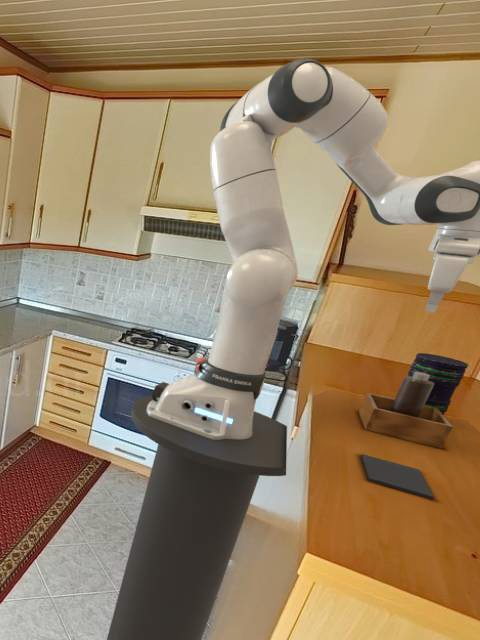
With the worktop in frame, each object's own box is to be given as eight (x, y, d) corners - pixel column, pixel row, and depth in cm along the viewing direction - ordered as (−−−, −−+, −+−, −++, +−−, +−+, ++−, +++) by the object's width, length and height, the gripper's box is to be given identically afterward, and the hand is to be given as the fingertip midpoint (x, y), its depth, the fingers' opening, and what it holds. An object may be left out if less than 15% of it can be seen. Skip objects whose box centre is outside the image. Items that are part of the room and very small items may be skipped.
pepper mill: (386, 426, 113) (409, 373, 108) (382, 419, 117) (405, 368, 112) (414, 433, 110) (440, 379, 106) (410, 425, 114) (434, 374, 110)
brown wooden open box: (365, 429, 112) (374, 408, 110) (358, 411, 123) (366, 392, 121) (442, 449, 105) (453, 426, 103) (427, 428, 116) (437, 408, 114)
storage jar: (403, 417, 122) (429, 360, 117) (384, 403, 131) (408, 350, 126) (451, 425, 120) (479, 368, 114) (428, 411, 129) (454, 357, 123)
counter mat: (368, 480, 88) (369, 477, 88) (360, 456, 97) (361, 453, 97) (432, 499, 83) (434, 496, 83) (417, 472, 93) (419, 469, 93)
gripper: (440, 244, 112) (414, 303, 117) (437, 242, 98) (408, 310, 102) (477, 247, 108) (450, 309, 113) (480, 247, 94) (448, 317, 98)
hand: (430, 310), depth 107 cm, fingers open, 8 cm apart
